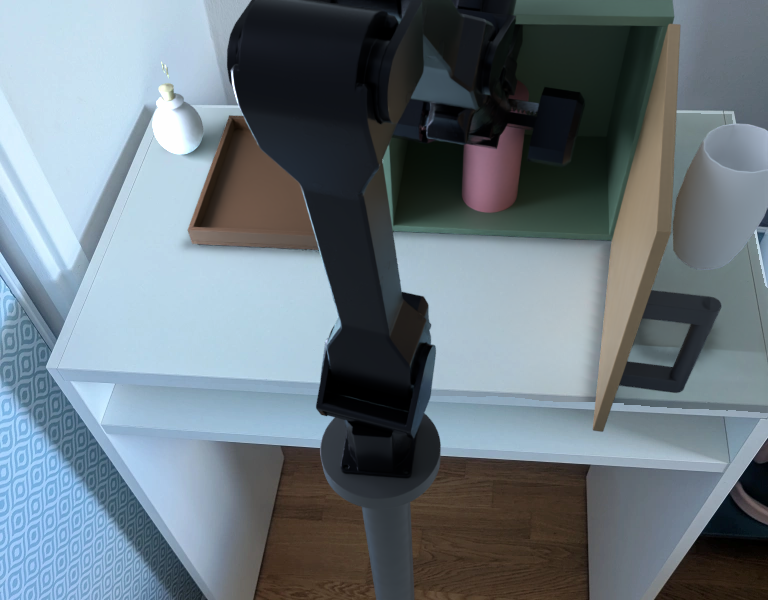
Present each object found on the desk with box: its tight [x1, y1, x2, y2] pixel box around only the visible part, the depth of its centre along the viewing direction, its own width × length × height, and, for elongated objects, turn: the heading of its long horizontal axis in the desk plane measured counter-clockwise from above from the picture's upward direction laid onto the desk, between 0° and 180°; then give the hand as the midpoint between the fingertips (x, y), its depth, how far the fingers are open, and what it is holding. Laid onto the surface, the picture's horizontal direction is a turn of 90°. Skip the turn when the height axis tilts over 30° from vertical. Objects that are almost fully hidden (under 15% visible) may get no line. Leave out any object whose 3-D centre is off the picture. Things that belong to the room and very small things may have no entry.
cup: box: [672, 122, 768, 271], centre depth 68 cm, size 7×7×21 cm
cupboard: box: [383, 0, 675, 242], centre depth 80 cm, size 18×26×24 cm
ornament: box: [152, 61, 204, 155], centre depth 92 cm, size 6×7×10 cm
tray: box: [187, 114, 319, 251], centre depth 91 cm, size 21×17×2 cm
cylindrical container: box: [462, 80, 529, 213], centre depth 83 cm, size 6×6×12 cm
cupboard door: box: [592, 23, 722, 433], centre depth 67 cm, size 7×26×23 cm, turn 168°
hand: (493, 134), depth 81 cm, fingers open, 9 cm apart
